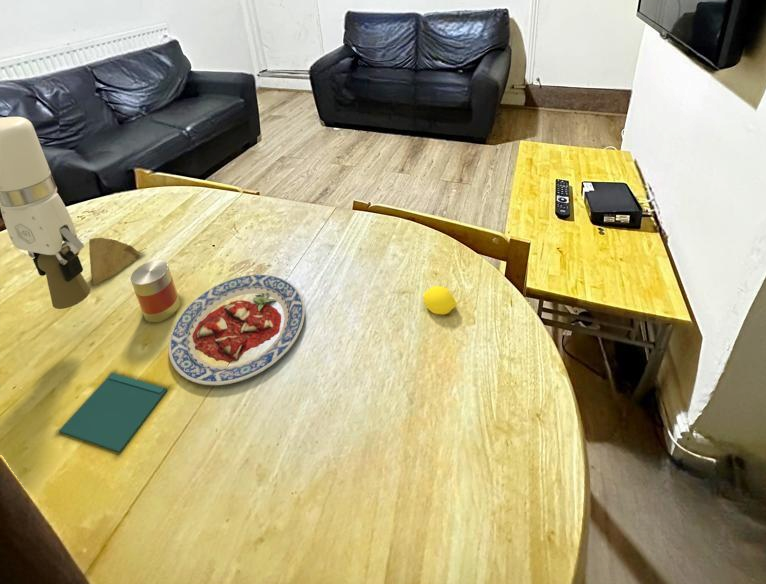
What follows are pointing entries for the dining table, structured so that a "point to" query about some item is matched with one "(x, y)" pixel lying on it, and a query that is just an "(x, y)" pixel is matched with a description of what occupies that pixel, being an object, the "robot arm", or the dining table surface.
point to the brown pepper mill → (62, 283)
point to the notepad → (114, 412)
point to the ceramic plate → (235, 329)
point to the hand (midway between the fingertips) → (61, 272)
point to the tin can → (155, 290)
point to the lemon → (439, 300)
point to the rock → (109, 257)
